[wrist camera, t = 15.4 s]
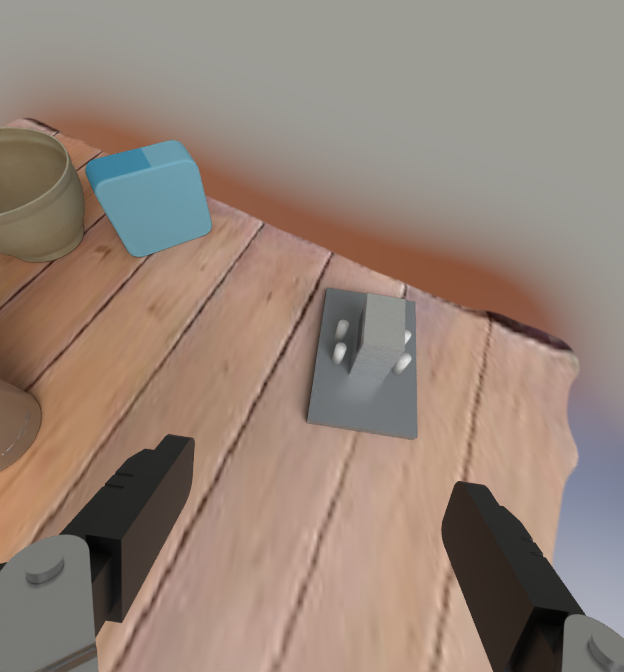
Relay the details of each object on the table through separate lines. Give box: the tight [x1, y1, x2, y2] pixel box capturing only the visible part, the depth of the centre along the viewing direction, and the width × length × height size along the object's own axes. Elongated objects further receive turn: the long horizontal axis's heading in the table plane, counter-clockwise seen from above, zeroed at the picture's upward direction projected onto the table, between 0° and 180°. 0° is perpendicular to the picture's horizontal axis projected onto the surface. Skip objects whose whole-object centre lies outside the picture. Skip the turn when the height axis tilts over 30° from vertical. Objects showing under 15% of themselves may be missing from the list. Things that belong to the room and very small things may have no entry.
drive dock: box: [307, 288, 417, 440], centre depth 39 cm, size 12×18×5 cm, turn 172°
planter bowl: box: [0, 127, 85, 262], centre depth 42 cm, size 16×16×11 cm
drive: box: [349, 293, 405, 381], centre depth 37 cm, size 4×6×8 cm
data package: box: [85, 140, 212, 257], centre depth 44 cm, size 12×4×12 cm, turn 122°
